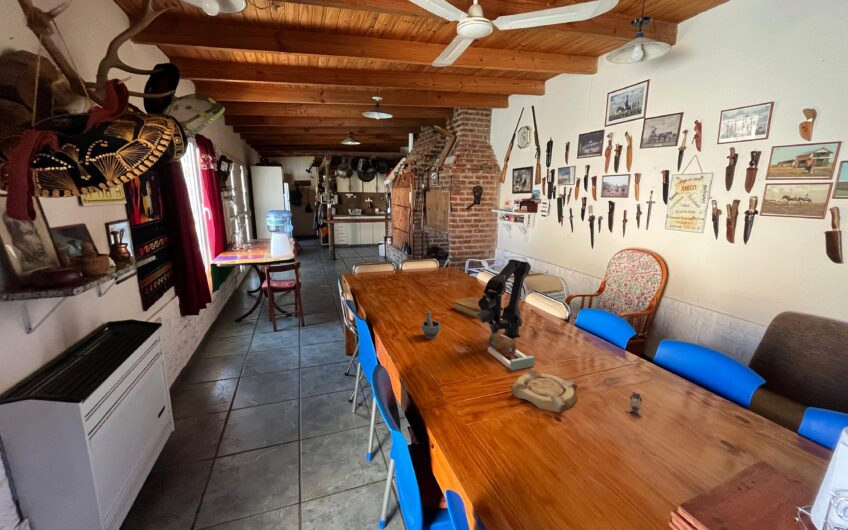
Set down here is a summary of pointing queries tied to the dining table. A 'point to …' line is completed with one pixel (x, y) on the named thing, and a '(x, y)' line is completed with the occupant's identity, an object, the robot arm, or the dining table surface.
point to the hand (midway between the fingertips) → (493, 336)
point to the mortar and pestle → (430, 327)
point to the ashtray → (546, 391)
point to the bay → (514, 360)
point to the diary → (468, 306)
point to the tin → (502, 344)
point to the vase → (635, 403)
